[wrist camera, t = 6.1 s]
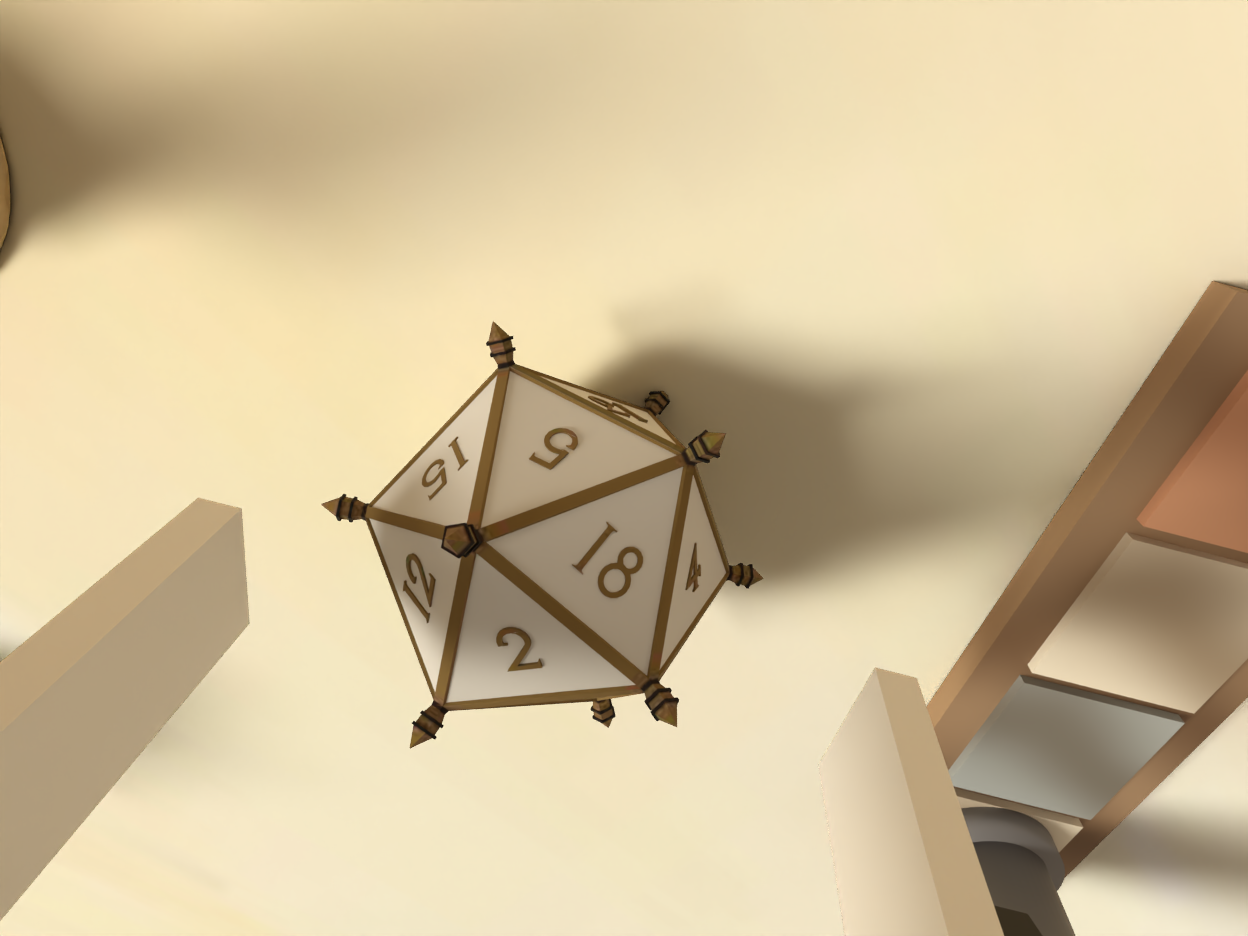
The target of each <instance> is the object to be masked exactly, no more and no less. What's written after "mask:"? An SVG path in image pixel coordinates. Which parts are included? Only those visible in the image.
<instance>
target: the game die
mask: <svg viewBox="0 0 1248 936" xmlns="http://www.w3.org/2000/svg"><path fill="white" fill-rule="evenodd" d="M511 339H513V336H509V335H508V334H507V333H505V332H504V331H503V330H502V329H501V328H500V327H499V326H498V325H497V324H496V323H495V322H493V323H492V328H491V333H490V337H489V341H488V342H487V343H486V345H487V346H490V349H491V352H492V353H490V356H491V357H494V359H495V361H496V362H497V364H498V368H497V369H496V370H495V372H494V373H493V374H492V375H491V376H490V377H489V378H488V379H487V380H486V381H485V382H484V383H483V384H482V385H481V386H480V387H479V388H478V390H477V391H476V392H475V393H474V394H473V395H472V396H471V397H470V398H469V399H468V400H467V401H466V402H465V403H464V404H463V405H462V406H461V408H460V409H459V410H458V411H457V412H456V413H455V414H454V415H453V416H452V417H451V418H450V419H449V420H448V421H447V422H446V423H445V424H444V425H443V427H442V428H441V429H440V430H439V431H438V432H437V433H436V434H435V435H434V436H433V437H432V438H431V439H430V440H429V441H428V442H427V443H426V445H425V446H424V447H423V448H422V449H421V450H420V451H419V452H418V453H417V454H416V455H415V456H414V457H413V458H412V459H411V460H410V461H409V463H408V464H407V465H406V466H405V467H404V468H403V469H402V470H401V471H400V472H399V473H398V474H397V475H396V476H395V477H394V478H393V479H392V481H391V482H390V483H389V484H388V485H387V486H386V487H385V488H384V489H383V490H382V491H381V492H380V493H379V494H378V495H377V496H376V497H375V498H374V500H373V501H372V502H371V503H370V504H365V503H363V502H361V501H359V500H357V497H354V498H348V497H346V494H343V495H342V496H341V497H340V498H337V499H334V500H331V501H329V502H326V503H323V504H321V505H322V506H324V507H325V508H326V509H327V510H329V511H330V512H331V513H332V514H334V515H335V516H336V518H337V520H338V521H341V519H347V520H349V522H353V520H357V519H363V520H365V521H366V522H367V525H368V528H369V530H370V533H371V536H372V538H373V541H374V544H375V546H376V549H377V551H378V554H379V557H380V559H381V562H382V565H383V567H384V570H385V573H386V575H387V578H388V581H389V583H390V586H391V589H392V591H393V594H394V596H395V599H396V602H397V604H398V607H399V610H400V612H401V615H402V618H403V620H404V623H405V626H406V628H407V631H408V633H409V636H410V639H411V641H412V644H413V647H414V649H415V652H416V655H417V657H418V660H419V663H420V665H421V668H422V671H423V673H424V676H425V678H426V681H427V684H428V686H429V689H430V692H431V694H432V697H433V700H434V701H433V703H432V705H431V706H430V707H429V708H428V709H427V710H425V711H421V714H422V715H421V716H420V717H419V719H418V720H417V721H416V722H415V721H413V723H412V724H413V725H414V726H413V732H412V738H411V743H410V748H412V747H414V746H416V745H418V744H420V743H423V742H425V741H427V740H429V739H431V738H433V739H436V736H435V734H436V732H437V731H438V729H439V727H441V728H442V727H443V725H442V721H443V718H444V715H445V714H446V713H447V712H448V711H454V710H469V709H484V708H500V707H515V706H530V705H545V704H560V703H575V702H590V701H593V706H592V707H591V711H593V712H594V715H593V719H595V720H597V721H599V722H601V723H603V724H604V725H605V726H607V727H608V728H609V726H610V723H611V721H612V719H613V718H614V717H615V712H614V707H613V706H612V703H611V699H612V698H618V697H624V696H629V695H635V694H641V693H645V696H646V700H645V703H646V705H647V706H648V707H649V709H650V710H652V711H651V714H652V715H653V717H654V718H655V720H656V721H658V720H661V721H664V722H666V723H668V724H671V725H673V726H675V727H677V704H678V702H679V699H678V698H674V697H673V696H672V694H671V691H672V690H671V689H670V688H665V687H664V686H662V685H661V684H660V683H659V681H660V679H661V678H662V676H663V675H664V673H665V672H666V670H667V669H668V667H669V666H670V664H671V663H672V661H673V660H674V658H675V657H676V655H677V654H678V652H679V651H680V649H681V648H682V646H683V644H684V643H685V641H686V640H687V638H688V637H689V635H690V634H691V632H692V631H693V629H694V628H695V626H696V625H697V623H698V622H699V620H700V619H701V617H702V616H703V614H704V613H705V611H706V610H707V608H708V607H709V605H710V604H711V602H712V601H713V599H714V598H715V596H716V595H717V593H718V592H719V590H720V589H721V587H722V586H723V584H724V583H725V581H727V580H731V581H733V582H734V583H735V584H736V585H737V586H740V585H744V586H745V587H746V588H749V586H750V585H752V584H754V583H756V582H758V581H760V580H762V579H764V578H763V577H762V576H761V575H760V574H759V573H758V572H757V571H756V570H755V569H754V568H753V566H752V564H749V565H747V566H745V565H743V563H740V564H738V565H736V566H731V565H729V563H728V560H727V557H726V554H725V551H724V548H723V545H722V542H721V539H720V536H719V533H718V530H717V527H716V524H715V521H714V517H713V514H712V511H711V508H710V505H709V502H708V499H707V496H706V493H705V490H704V487H703V484H702V481H701V478H700V475H699V472H698V469H697V466H696V464H697V463H700V462H705V463H709V462H710V459H711V458H713V457H716V458H718V457H720V453H719V450H720V448H721V445H722V442H723V440H724V437H725V434H726V433H711V432H708V431H707V430H705V431H704V432H702V433H701V434H700V435H699V436H698V437H696V438H694V439H693V440H692V441H691V442H690V443H689V444H688V445H689V447H688V448H685V447H684V446H683V445H682V444H681V443H680V442H679V441H678V440H677V439H676V438H675V437H674V435H673V434H672V433H671V432H670V431H669V430H668V429H667V428H666V427H665V426H664V425H663V424H662V423H661V422H660V421H659V420H658V419H657V418H656V417H655V416H656V415H657V414H659V415H660V414H661V413H662V411H663V410H664V409H665V408H666V406H667V405H668V404H669V402H670V401H669V400H668V395H667V394H666V393H665V392H664V391H661V392H650V393H649V394H650V397H649V398H648V399H645V402H646V405H645V408H641V407H639V406H636V405H633V404H630V403H627V402H624V401H621V400H618V399H615V398H612V397H610V396H607V395H604V394H601V393H598V392H595V391H592V390H589V389H586V388H583V387H581V386H578V385H575V384H572V383H569V382H566V381H563V380H560V379H557V378H554V377H552V376H549V375H546V374H543V373H540V372H537V371H534V370H531V369H528V368H525V367H522V366H520V365H517V364H515V363H514V361H513V351H515V350H516V349H515V347H514V348H513V347H512V343H511Z"/></svg>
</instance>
